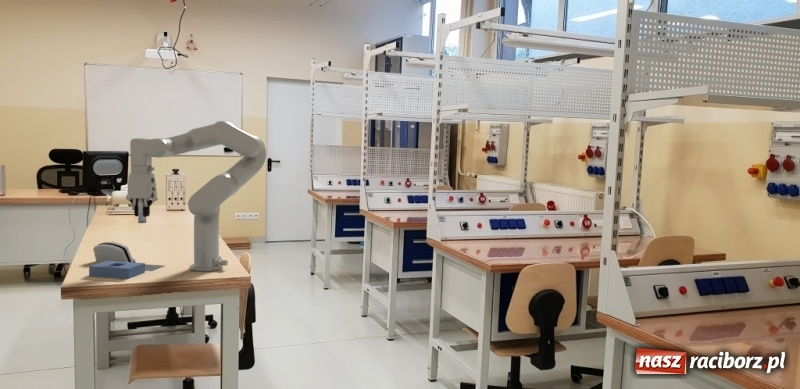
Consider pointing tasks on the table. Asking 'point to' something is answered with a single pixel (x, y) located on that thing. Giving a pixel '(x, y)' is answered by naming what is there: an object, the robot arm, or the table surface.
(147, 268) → the mat
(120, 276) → the hole block
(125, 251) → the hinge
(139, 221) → the peg
